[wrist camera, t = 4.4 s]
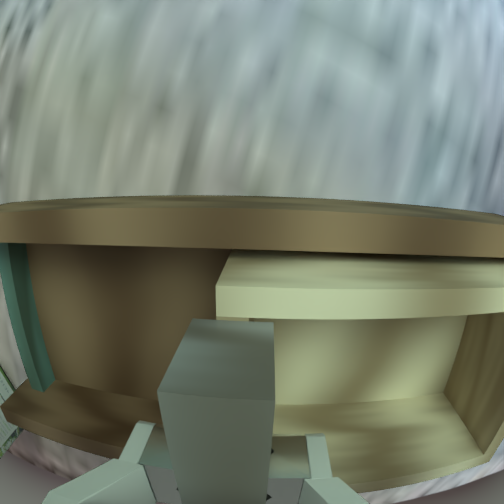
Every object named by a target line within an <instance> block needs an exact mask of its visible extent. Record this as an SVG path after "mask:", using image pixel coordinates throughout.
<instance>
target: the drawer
mask: <svg viewBox="0 0 504 504" xmlns="http://www.w3.org/2000/svg"><path fill="white" fill-rule="evenodd" d="M157 395H158V401H159V406H160V411H161V417H162V422H163V427H164V432H165V436H166V441H167V445H168V450H169V454H170V459H171V463H172V467H173V471H174V475H175V479H176V483H177V487H178V490H179V494H180V498H181V501H182V504H266V496H267V486H268V477H269V467H270V456H271V446H272V434H313V433H323V434H324V435H325V438H326V443H327V449H328V454H329V460H330V465H331V471H332V476H333V477H339V478H340V479H341V480H342V481H343V482H345V483H346V484H347V485H348V486H349V487H350V488H352V489H353V490H354V491H355V492H356V493H363V492H371V491H377V490H383V489H389V488H395V487H400V486H405V485H410V484H414V483H419V482H423V481H427V480H431V479H435V478H439V477H443V476H446V475H450V474H453V473H457V472H460V471H463V470H466V469H469V468H472V467H475V466H478V465H481V464H484V463H487V462H489V461H490V459H491V458H492V456H493V455H494V453H495V451H496V450H497V448H498V447H499V445H500V443H501V442H502V440H503V438H504V258H498V257H469V256H440V255H410V254H379V253H348V252H316V251H284V250H251V249H232V251H231V253H230V255H229V257H228V260H227V262H226V264H225V266H224V268H223V270H222V273H221V275H220V277H219V279H218V281H217V284H216V320H210V319H194V318H193V319H192V321H191V323H190V325H189V327H188V329H187V331H186V333H185V335H184V337H183V339H182V341H181V343H180V345H179V347H178V349H177V351H176V353H175V355H174V357H173V359H172V361H171V363H170V365H169V367H168V369H167V371H166V373H165V375H164V377H163V379H162V381H161V383H160V386H159V388H158V390H157Z"/></svg>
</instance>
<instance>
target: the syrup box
mask: <svg viewBox="0 0 504 504" xmlns="http://www.w3.org/2000/svg"><path fill="white" fill-rule="evenodd" d="M14 391H15V389H14V388H13V386H12V385H11V383H10V382H9V380H8V378H7V377H6V375H5V374H4V372H3V370H2V369H1V367H0V406H1V405H2V404H3V403H4V402H5V401H6V400H7V399H8V398H9V397H10V396H11V394H12V393H13V392H14ZM23 430H24V429H23V428H20V427H18V426H16V425H13V424H11V423H9V422H7V421H6V419H5V417H4V414H3V412H2V410H1V408H0V459H1V457H2V456H3V455H4V453H5V452H6V451H7V450H8V449H9V447H10V446H11V445H12V443H13V442H14V441H15V440H16V439H17V437H18V436H19V435H20V434H21V432H22V431H23Z"/></svg>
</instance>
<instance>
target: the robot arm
mask: <svg viewBox="0 0 504 504" xmlns="http://www.w3.org/2000/svg"><path fill="white" fill-rule="evenodd" d="M156 502H162V503H168V504H182V501H181V498H180V494H179V490H178V487H177V483H176V479H175V475H174V471H173V467H172V463H171V459H170V454H169V450H168V445H167V441H166V436H165V432H164V427H163V424H158V423H151V422H146V421H141V420H140V421H139V422H137V423H136V425H135V427H134V429H133V431H132V433H131V435H130V437H129V439H128V441H127V443H126V445H125V447H124V449H123V451H122V453H121V455H120V457H119V459H114V458H113V459H111V460H110V461H108V462H106V463H104V464H102V465H100V466H98V467H97V468H95V469H93V470H91V471H89V472H87V473H85V474H83V475H81V476H79V477H77V478H75V479H73V480H71V481H70V482H67V483H65V484H63V485H61V486H59V487H57V488H55V489H53V490H51V491H49V492H48V494H47V496H46V498H45V499H44V501H43V502H42V504H156ZM266 504H370V503H368V502H367V501H366V500H365V499H363V498H362V497H361V496H360V495H359V494H357V493H356V492H355V491H354V490H353V489H352V488H350V487H349V486H348V485H347V484H346V483H345V482H343V481H342V480H341V479H340V478H339V477H333V476H332V471H331V465H330V460H329V454H328V449H327V443H326V438H325V435H324V434H323V433H313V434H272V446H271V456H270V467H269V477H268V486H267V496H266Z"/></svg>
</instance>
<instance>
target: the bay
mask: <svg viewBox="0 0 504 504" xmlns="http://www.w3.org/2000/svg"><path fill="white" fill-rule="evenodd" d="M232 249H251V250H284V251H316V252H348V253H379V254H410V255H440V256H469V257H498V258H504V216H501V215H498V214H492V213H484V212H476V211H467V210H458V209H449V208H439V207H429V206H419V205H407V204H395V203H382V202H369V201H354V200H337V199H318V198H295V197H265V196H203V195H183V196H122V197H94V198H72V199H54V200H38V201H24V202H12V203H6V204H1V205H0V273H1V278H2V284H3V289H4V294H5V299H6V303H7V308H8V312H9V316H10V320H11V324H12V328H13V332H14V335H15V339H16V342H17V346H18V349H19V352H20V355H21V359H22V362H23V365H24V368H25V371H26V374H27V376H28V379H27V380H26V381H25V382H24V383H23V384H22V385H21V386H19V387H18V388H17V389H16V390H15V391H14V392H13V393H12V394H11V396H10V397H9V398H8V399H7V400H6V401H5V402H4V403H3V404H2V405H1V406H0V408H1V410H2V412H3V414H4V417H5V419H6V421H7V422H9V423H11V424H13V425H16V426H18V427H20V428H23V429H25V430H27V431H30V432H32V433H35V434H37V435H40V436H42V437H45V438H47V439H50V440H53V441H56V442H58V443H61V444H64V445H67V446H70V447H73V448H76V449H79V450H82V451H86V452H89V453H92V454H96V455H99V456H103V457H107V458H110V459H113V458H114V459H119V457H120V455H121V453H122V451H123V449H124V447H125V445H126V443H127V441H128V439H129V437H130V435H131V433H132V431H133V429H134V427H135V425H136V423H137V422H139V421H140V420H141V421H146V422H151V423H158V424H163V422H162V417H161V411H160V406H159V401H158V395H157V390H158V388H159V386H160V383H161V381H162V379H163V377H164V375H165V373H166V371H167V369H168V367H169V365H170V363H171V361H172V359H173V357H174V355H175V353H176V351H177V349H178V347H179V345H180V343H181V341H182V339H183V337H184V335H185V333H186V331H187V329H188V327H189V325H190V323H191V321H192V319H193V318H194V319H210V320H216V284H217V281H218V279H219V277H220V275H221V273H222V270H223V268H224V266H225V264H226V262H227V260H228V257H229V255H230V253H231V251H232Z"/></svg>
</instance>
